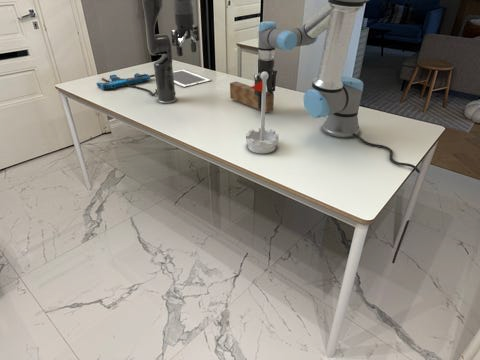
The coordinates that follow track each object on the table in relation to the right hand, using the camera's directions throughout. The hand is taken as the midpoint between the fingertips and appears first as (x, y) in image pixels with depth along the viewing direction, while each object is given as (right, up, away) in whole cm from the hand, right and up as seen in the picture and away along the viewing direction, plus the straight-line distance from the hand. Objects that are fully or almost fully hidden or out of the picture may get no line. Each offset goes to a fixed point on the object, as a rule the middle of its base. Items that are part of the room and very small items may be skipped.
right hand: (264, 107), depth 168 cm
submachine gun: (-83, +25, +43) cm, 97 cm away
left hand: (-35, +18, -22) cm, 45 cm away
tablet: (-48, +29, +49) cm, 74 cm away
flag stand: (-3, -23, -31) cm, 38 cm away
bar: (-7, +3, +7) cm, 10 cm away
